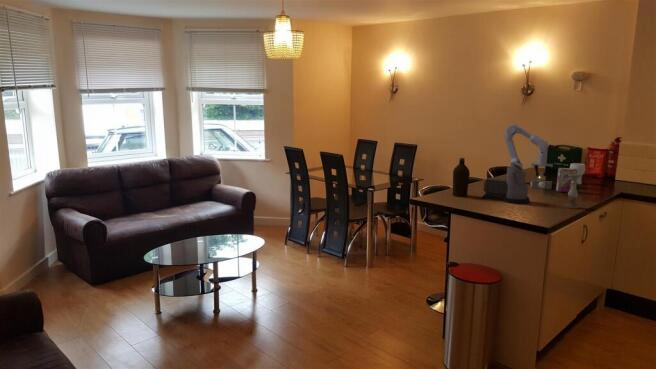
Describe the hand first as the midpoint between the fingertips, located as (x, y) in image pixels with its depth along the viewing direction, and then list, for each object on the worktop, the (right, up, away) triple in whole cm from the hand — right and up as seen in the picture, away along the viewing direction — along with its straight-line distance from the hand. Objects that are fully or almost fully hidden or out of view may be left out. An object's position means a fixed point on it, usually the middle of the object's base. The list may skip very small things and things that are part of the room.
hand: (540, 176), depth 375 cm
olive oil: (-70, -14, -39) cm, 82 cm away
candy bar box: (+8, -12, -21) cm, 25 cm away
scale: (-2, -8, -3) cm, 9 cm away
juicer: (-44, -17, -51) cm, 69 cm away
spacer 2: (-2, -5, -5) cm, 7 cm away
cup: (+32, -6, +12) cm, 35 cm away
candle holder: (-10, -20, -68) cm, 72 cm away
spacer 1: (0, -3, +1) cm, 3 cm away
